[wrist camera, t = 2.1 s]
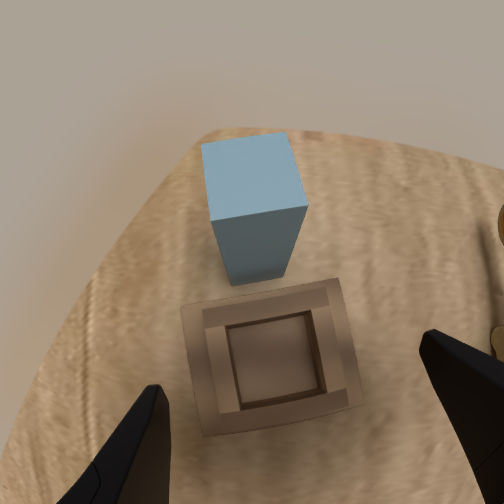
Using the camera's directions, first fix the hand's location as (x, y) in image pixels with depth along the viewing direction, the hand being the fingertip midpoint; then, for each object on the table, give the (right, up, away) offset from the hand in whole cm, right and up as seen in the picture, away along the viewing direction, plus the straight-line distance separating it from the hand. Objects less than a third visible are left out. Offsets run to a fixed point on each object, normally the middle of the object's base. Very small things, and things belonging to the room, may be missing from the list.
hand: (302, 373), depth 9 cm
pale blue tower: (-1, +3, +15) cm, 16 cm away
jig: (0, -4, +13) cm, 13 cm away
